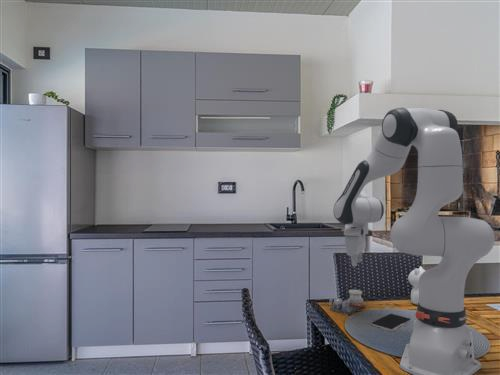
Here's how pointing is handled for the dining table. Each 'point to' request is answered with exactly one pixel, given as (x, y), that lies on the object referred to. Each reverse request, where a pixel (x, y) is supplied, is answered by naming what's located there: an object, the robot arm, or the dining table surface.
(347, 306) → the bayonet base
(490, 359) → the dining table surface
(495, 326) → the dining table surface
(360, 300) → the cap
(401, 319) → the smartphone
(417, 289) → the cat figurine
